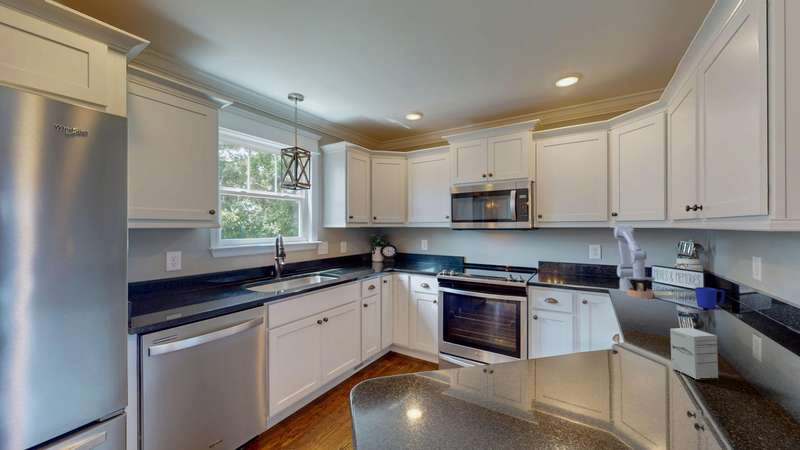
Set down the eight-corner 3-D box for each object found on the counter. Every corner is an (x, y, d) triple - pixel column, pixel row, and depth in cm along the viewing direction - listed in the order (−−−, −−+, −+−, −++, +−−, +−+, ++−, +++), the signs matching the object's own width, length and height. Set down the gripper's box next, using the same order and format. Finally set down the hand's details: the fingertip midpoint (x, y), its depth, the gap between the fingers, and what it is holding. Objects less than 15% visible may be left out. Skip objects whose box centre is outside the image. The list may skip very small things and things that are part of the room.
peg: (634, 295, 190) (634, 282, 190) (642, 295, 189) (642, 282, 189) (637, 296, 186) (636, 283, 187) (645, 296, 185) (644, 283, 185)
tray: (646, 294, 195) (646, 290, 195) (670, 295, 190) (670, 291, 190) (654, 298, 183) (654, 294, 183) (679, 299, 179) (679, 295, 179)
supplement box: (670, 369, 93) (668, 328, 93) (692, 368, 93) (690, 326, 94) (696, 381, 85) (694, 336, 86) (719, 380, 86) (717, 334, 86)
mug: (731, 310, 155) (730, 290, 155) (703, 309, 157) (702, 290, 157) (718, 306, 163) (717, 287, 163) (691, 305, 165) (690, 287, 166)
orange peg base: (624, 294, 196) (624, 287, 196) (648, 295, 191) (648, 288, 191) (631, 298, 184) (630, 291, 184) (657, 299, 179) (656, 292, 180)
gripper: (626, 270, 187) (627, 292, 187) (656, 271, 182) (657, 294, 181) (623, 269, 193) (624, 290, 193) (651, 269, 188) (652, 291, 188)
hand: (639, 292), depth 188 cm, fingers closed on peg, 4 cm apart
